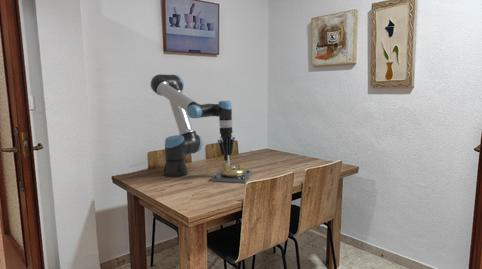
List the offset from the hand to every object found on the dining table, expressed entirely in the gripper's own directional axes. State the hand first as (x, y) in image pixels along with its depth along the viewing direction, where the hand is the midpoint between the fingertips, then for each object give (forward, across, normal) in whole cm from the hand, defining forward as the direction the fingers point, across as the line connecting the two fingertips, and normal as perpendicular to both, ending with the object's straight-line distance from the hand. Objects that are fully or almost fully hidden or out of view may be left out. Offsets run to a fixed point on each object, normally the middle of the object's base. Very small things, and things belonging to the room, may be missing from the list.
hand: (227, 165), depth 207 cm
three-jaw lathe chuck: (+4, +2, +5) cm, 7 cm away
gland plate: (+6, +2, +5) cm, 8 cm away
